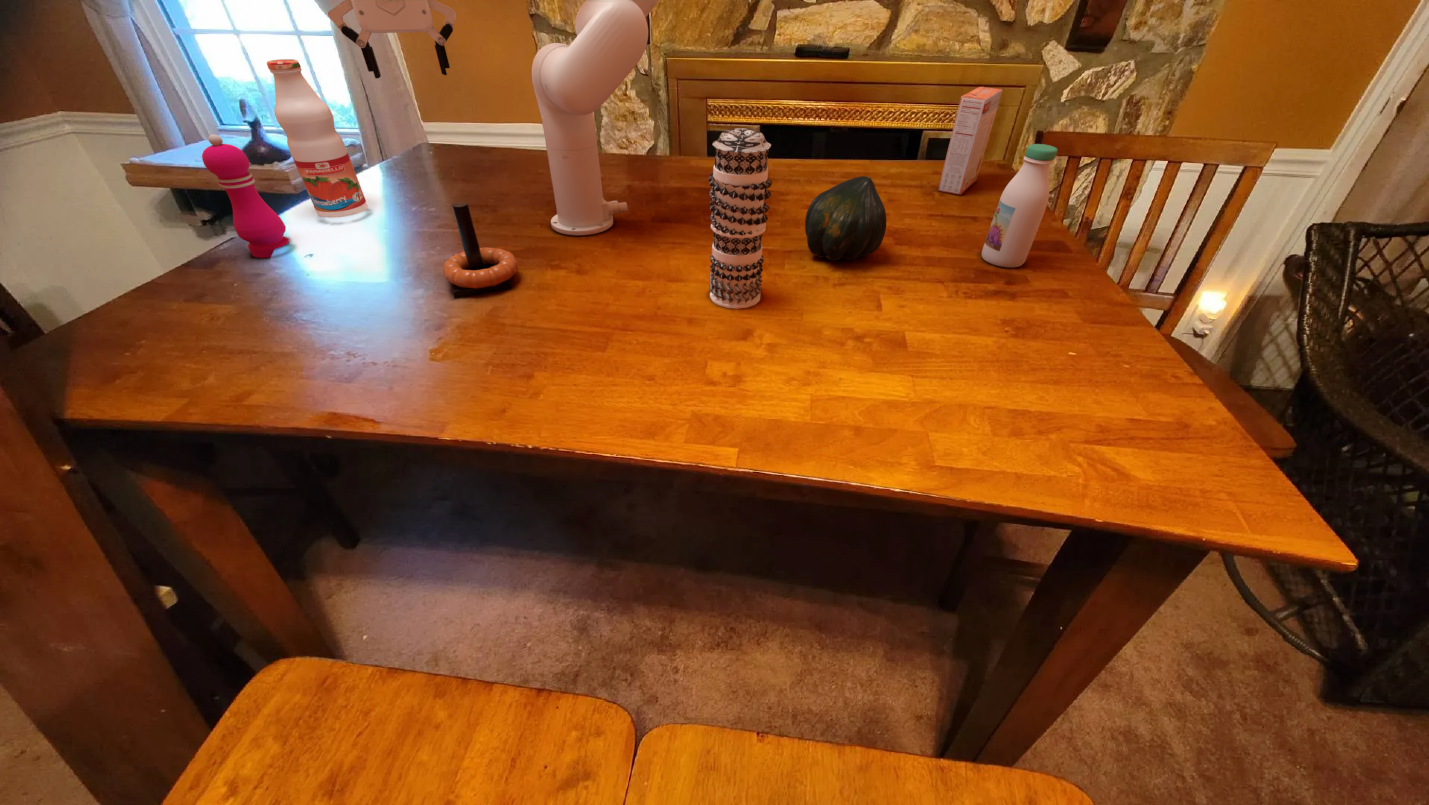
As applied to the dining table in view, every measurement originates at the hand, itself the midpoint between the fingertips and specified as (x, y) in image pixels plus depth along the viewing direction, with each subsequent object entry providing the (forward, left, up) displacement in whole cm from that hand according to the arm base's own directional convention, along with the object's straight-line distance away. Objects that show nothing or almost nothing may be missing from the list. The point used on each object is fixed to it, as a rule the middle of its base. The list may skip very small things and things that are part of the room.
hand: (411, 75), depth 88 cm
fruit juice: (+21, -25, -28) cm, 43 cm away
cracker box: (-116, +7, -28) cm, 120 cm away
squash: (-66, +30, -28) cm, 78 cm away
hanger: (-2, +17, -28) cm, 33 cm away
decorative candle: (-40, +38, -28) cm, 62 cm away
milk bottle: (-93, +44, -28) cm, 107 cm away
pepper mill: (+32, -10, -28) cm, 44 cm away
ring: (-3, +17, -26) cm, 31 cm away
